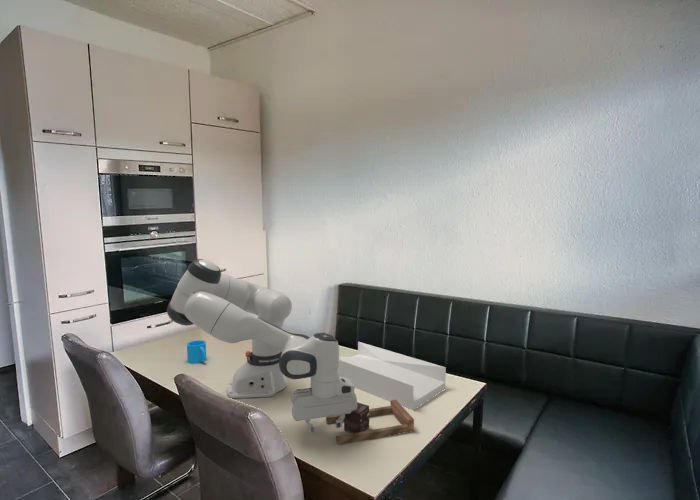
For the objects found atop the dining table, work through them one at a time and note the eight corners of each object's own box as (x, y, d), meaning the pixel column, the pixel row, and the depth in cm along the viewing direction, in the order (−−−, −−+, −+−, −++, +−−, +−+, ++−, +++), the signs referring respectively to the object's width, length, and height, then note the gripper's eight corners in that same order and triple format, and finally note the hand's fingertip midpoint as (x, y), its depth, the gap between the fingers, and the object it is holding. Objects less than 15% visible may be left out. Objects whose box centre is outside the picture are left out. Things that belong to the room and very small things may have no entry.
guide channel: (337, 445, 122) (337, 432, 121) (325, 421, 135) (325, 409, 134) (413, 431, 129) (414, 419, 129) (395, 410, 142) (395, 399, 142)
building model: (445, 391, 158) (445, 367, 157) (412, 412, 142) (413, 385, 141) (357, 361, 189) (358, 341, 188) (323, 375, 172) (323, 354, 171)
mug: (184, 360, 188) (183, 343, 187) (201, 355, 194) (200, 339, 193) (196, 367, 180) (196, 349, 179) (213, 362, 186) (213, 344, 185)
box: (359, 436, 126) (359, 413, 125) (343, 430, 129) (343, 408, 129) (369, 427, 131) (369, 405, 130) (353, 422, 135) (353, 400, 134)
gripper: (292, 394, 120) (293, 439, 121) (359, 386, 126) (358, 429, 127) (289, 385, 126) (289, 428, 127) (353, 378, 132) (352, 419, 133)
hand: (324, 428), depth 127 cm, fingers open, 7 cm apart
